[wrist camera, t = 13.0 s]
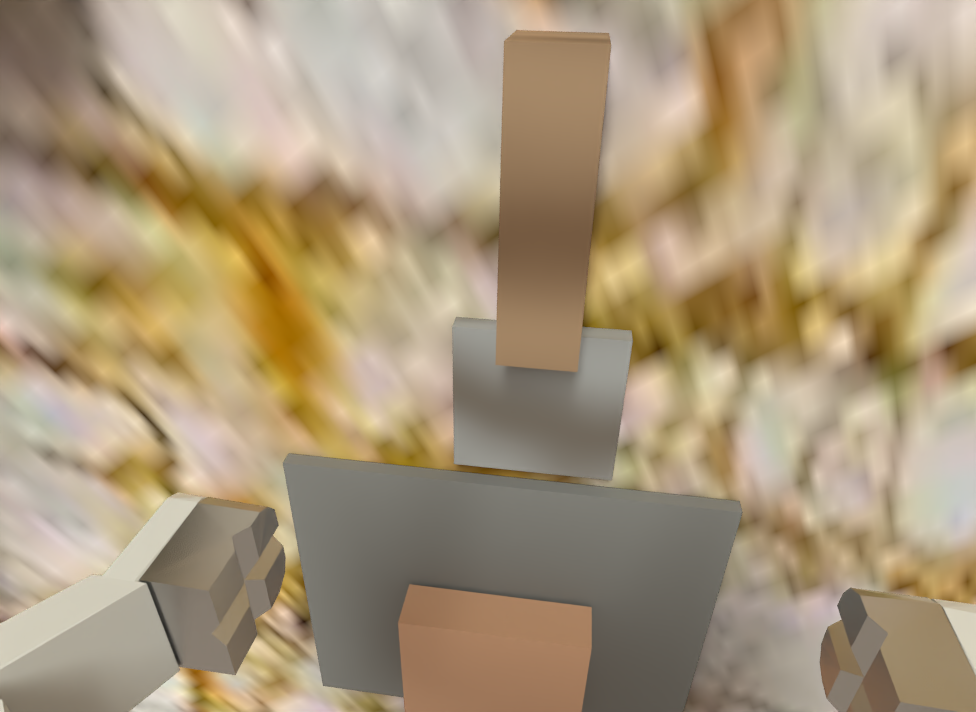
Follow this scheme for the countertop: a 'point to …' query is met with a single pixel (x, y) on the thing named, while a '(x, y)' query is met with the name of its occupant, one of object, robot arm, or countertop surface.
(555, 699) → the block
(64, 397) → the countertop surface
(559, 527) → the gray rectangular plate
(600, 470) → the turner
